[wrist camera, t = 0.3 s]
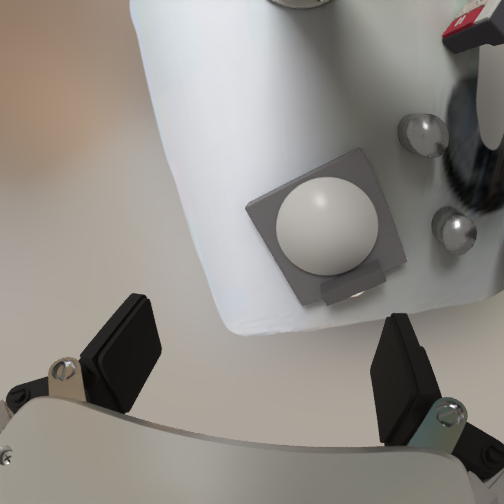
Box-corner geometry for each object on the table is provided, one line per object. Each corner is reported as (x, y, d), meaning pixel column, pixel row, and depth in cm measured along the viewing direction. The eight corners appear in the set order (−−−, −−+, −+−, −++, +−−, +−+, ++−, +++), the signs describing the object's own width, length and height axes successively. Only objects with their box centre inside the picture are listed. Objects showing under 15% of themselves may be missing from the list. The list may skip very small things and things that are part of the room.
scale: (248, 202, 46) (240, 215, 41) (358, 147, 40) (367, 152, 34) (303, 297, 52) (302, 318, 47) (402, 254, 46) (413, 272, 40)
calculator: (463, 4, 25) (508, -21, 11) (481, 22, 25) (530, 4, 12) (437, 37, 29) (485, 15, 16) (457, 56, 30) (509, 42, 16)
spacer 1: (391, 122, 37) (404, 123, 32) (422, 108, 35) (438, 108, 30) (407, 158, 39) (421, 164, 34) (437, 144, 37) (454, 149, 32)
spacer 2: (427, 214, 42) (441, 227, 37) (455, 200, 40) (472, 212, 35) (436, 245, 44) (449, 261, 39) (463, 231, 42) (479, 245, 36)
